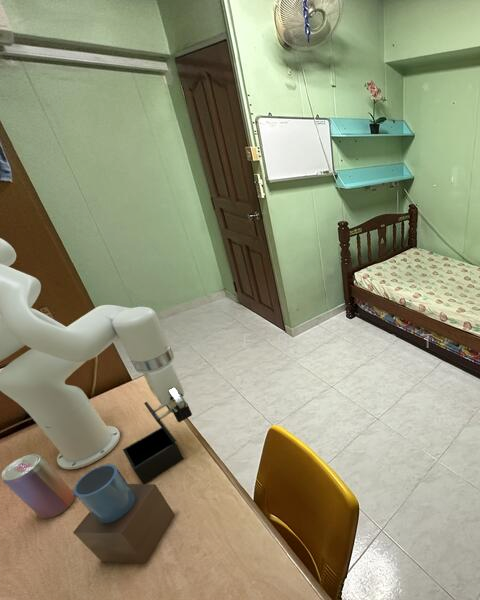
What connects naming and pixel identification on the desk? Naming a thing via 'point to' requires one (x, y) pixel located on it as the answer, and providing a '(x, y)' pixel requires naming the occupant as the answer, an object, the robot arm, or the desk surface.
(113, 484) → the cup
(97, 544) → the stand
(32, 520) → the desk surface
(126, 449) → the wash box
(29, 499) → the beverage can
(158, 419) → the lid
